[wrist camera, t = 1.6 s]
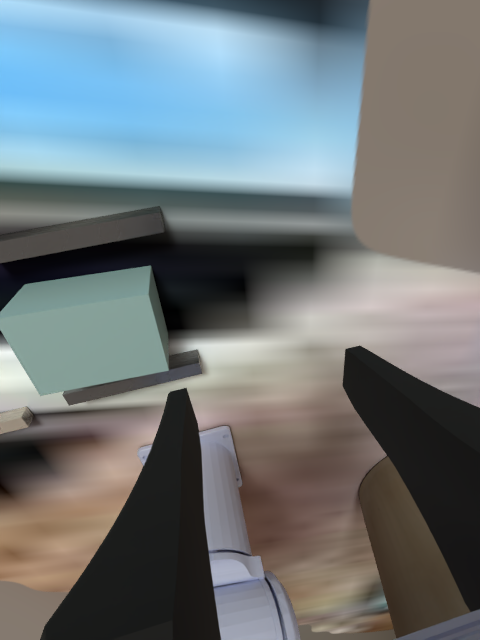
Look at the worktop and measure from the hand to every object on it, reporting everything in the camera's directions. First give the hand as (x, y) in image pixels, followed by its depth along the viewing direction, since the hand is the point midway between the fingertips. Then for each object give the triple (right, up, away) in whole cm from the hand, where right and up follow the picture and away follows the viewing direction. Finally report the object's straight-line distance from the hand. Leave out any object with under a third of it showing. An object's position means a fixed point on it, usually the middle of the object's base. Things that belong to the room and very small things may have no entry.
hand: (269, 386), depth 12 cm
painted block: (-10, +3, +7) cm, 12 cm away
